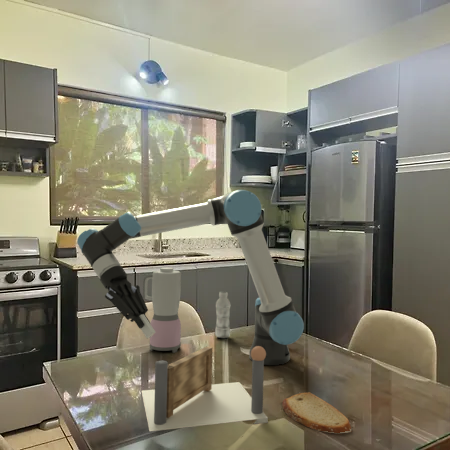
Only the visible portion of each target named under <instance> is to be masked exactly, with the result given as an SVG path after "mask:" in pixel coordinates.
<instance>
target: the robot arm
mask: <svg viewBox="0 0 450 450" xmlns="http://www.w3.org/2000/svg"><path fill="white" fill-rule="evenodd" d="M208 224H210V225H212V226H218V225H227V226H228V229H229V232H230V234H231V236H232V237H235V238H236V239H237V240H238V241H237V242H238V243H239V246H240V248H241V251H242V254H243V257H244V259H245V262H246V265H247V268H248V271H249V273H250V275H251V279H252V281H253V285H254V286H255V290H256V292H257V295H258V297H257V298H256V299H255V305H254V337H253V340H252V344H251V347H250V350H249V360H250V361H251V362H252V361H253V359H252V357H251V350H252V349H253V348H254V347H256V346H261V347H263V348H264V349H265V351H266V357H265V359H264V365H266V366H280V365H279V364H282V365H285V364H284V363H286V362H288V361H289V360H290V361H291V352H290V350H289V346H288V345H292V344H294V343H295V342H297V341H298V340H300V338H301V337H302V335H303V333H304V329H305V323H304V320H303V318H302V316H301V315H300V314H299V313H298V312H297V311H296V308H295V306H294V305H295V304H294V302H293V300H292V297H290V296H288V295H286V293H285V290H284V288H283V286H282V283H281V279H280V276H279V275H278V274H279V273H278V271H277V268H276V266H275V263H274V259H273V257H272V255H271V252H270V250H269V246H268V244H267V241H266V238H265V235H264V232H263V227H264V225H265V222H264V219H263V216H262V203H261V201H260V199H259V198H258V196H257V195H256V194H255V193H254V192H252V191H249V190H246V189H237V190H234V191H231V192H227V193H226V194H224V195H221V196H218V197H215V198H209V199H208V200H207V201H206V202H203V203H197V204H192V205H187V206H186V205H185V206H180V207H178V208H171V209H165V210H161V211H154V212H149V213H144V214H139V215H134V214H133V213H132V212H131V211H125V213H123V214H121V215H120V216H119V217H117V218H116V219H115V220H113V221H111V222H110V223H109V224H107V225H106V226H104V228H102V229H100V230H98V229H96V228H89V229H87V230H84V231H83V232H81V233H80V234H79V236H78V237H77V240H76V241H77V242H76V243H77V245H78V247H79V249H80V251H81V253H82V255H83V256H84V257H85V259H86V260H87V262H88V263H89V265H90V266H91V268H92V269H93V271H94V272H95V275H96V276H97V277H98V279H99V280H100V282H101V284H102V286H103V288H105V289H106V290H107V291H108V292H106V294H105V295H104V298H105V299H107V300H108V301H109V302H110V303H112V304H113V306H114V307H115V308H116V309H117V310H118V311H119V313H120V314H122V315H123V317H124V318H125V319H126V320H128V321H130V322H131V323H133V322H135V324H136V326H137V327H138V328H139V329H140V330H141V332H142V334H143V335H144V336H145V338H146V339H150V337H151V336H152V335H153V334H154V333H155V330H154V329H153V327H152V326H151V324H150V322H151V320H149V319H148V317H147V315H146V314H147V312H148V311H149V309H148V307H147V304H146V302H145V299H144V297H143V294H142V293H141V289H140V286H139V285H135V286H134V285H132V283H131V282H130V281H129V280H128V275H127V273H126V271H125V269H124V268H123V266H121V263H120V261H119V260H118V259H117V257H116V256H115V254H114V253H113V251H115V250H116V249H117V248H119V247H120V246H121V245H124V244H125V243H127V242H128V241H129V240H131V239H136V238H139V237H146V236H151V235H156V234H161V233H167V232H173V231H177V230H182V229H188V228H192V227H193V228H194V227H199V226H204V225H208ZM290 361H289V362H290ZM289 362H288V363H289ZM286 364H287V363H286Z"/></svg>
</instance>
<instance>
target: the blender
mask: <svg viewBox="0 0 450 450" xmlns="http://www.w3.org/2000/svg"><path fill="white" fill-rule="evenodd" d="M182 274H183V273H182V272H180V271H179V270H174V268H173V267H160V269H158V270H154V271H153V272H152V274H148V275H145V277H144V278H143V283H142V285H143V286H142V291H143V292H142V297H143V299H144V301H145V300H146V301H148V302H151V303H152V310H153V315H152V316H153V317H152V318H151V320H150V324H151V326H152V327H153V329H154V330H155V333H154V334H153V335H152V336H151V337H150V338H149V351H150V352H153V351H154V350H155V351H163V352H164V351H165V352H166V351H171V353H173V354H174V353H177V352H178V349H180V348H181V346H182V345H181V344H182V342H181V340H182V339H181V337H182V333H181V332H182V324H181V320H180V318H179V308H180V304H181V303H180V302H181V295H182V294H181V293H182V292H181V288H182V287H181V286H182V283H181V282H182V277H181V275H182ZM149 280H151V296H150V295H148V286H149V285H148V282H149Z"/></svg>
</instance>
